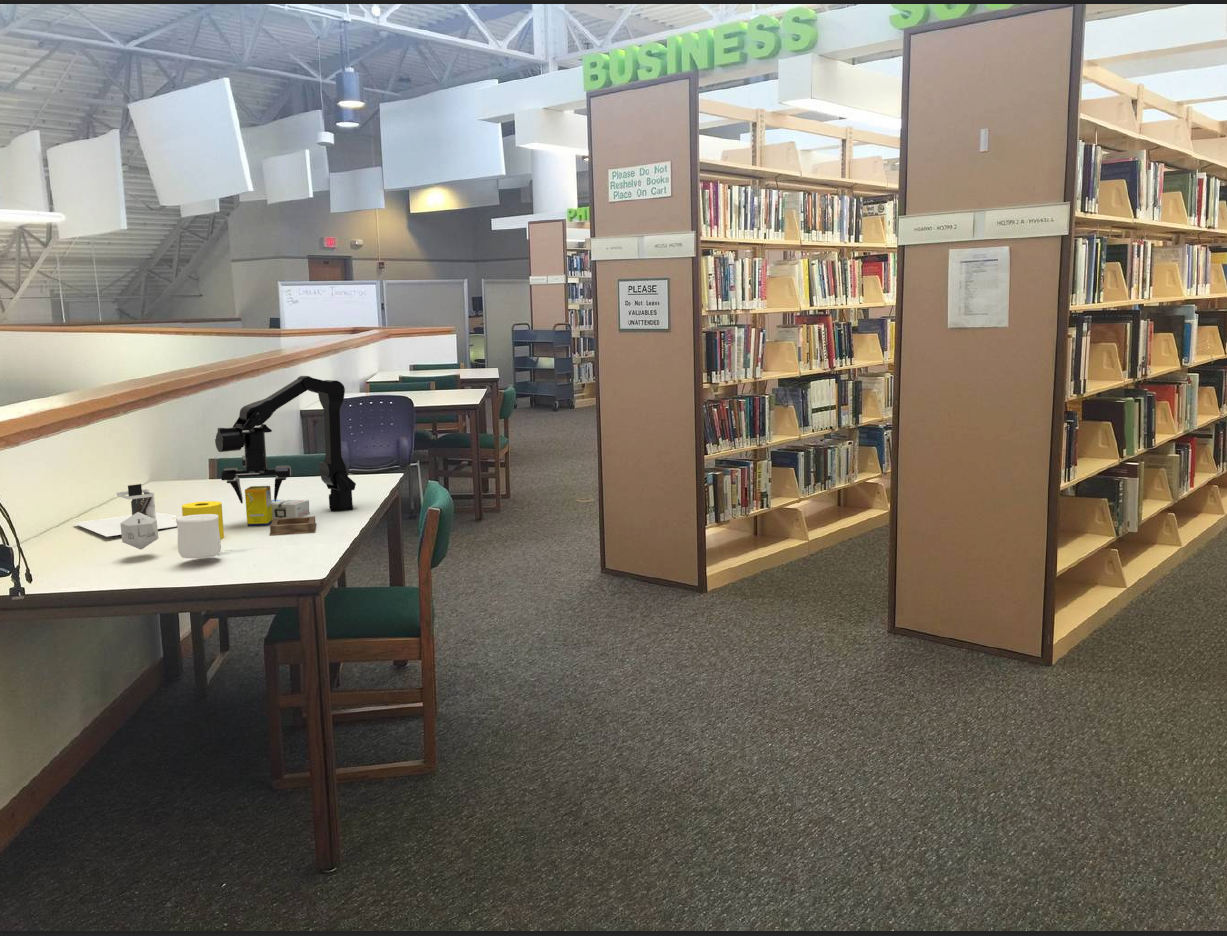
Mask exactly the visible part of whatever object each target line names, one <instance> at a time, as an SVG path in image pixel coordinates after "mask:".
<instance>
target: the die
mask: <svg viewBox="0 0 1227 936" xmlns="http://www.w3.org/2000/svg"><path fill="white" fill-rule="evenodd" d="M131 515H132V514H131ZM120 524H121V542H122V543H124V544H125V545H129V546H130V547H133V548H136V549H138V550H144V548H146V547H148V546H149V545H151V544H152V543H154V542H155V541H157V540H158V539H160V538H159V529H158V528H157V520H156V519H153V518H151V517H149V516H146V515H144V514H142V513H139V512H137V513H136V514H134V515H132V516H131V517H129V518H128V519H126V520H125V521H123V522H122V523H120Z"/></svg>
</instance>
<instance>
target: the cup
mask: <svg viewBox="0 0 1227 936" xmlns="http://www.w3.org/2000/svg"><path fill="white" fill-rule="evenodd" d="M218 517H219V516H218V515H216V514H199V515H189V516H183V515H182V516H177V518H176V519H175V520H176V523H177V526H176V528H177V549H178V554H179V556H180V557H181V558H183V559H205V558H206V559H207V558H210V557H216V556H218V555H219V554H220V553H221V551H222V550H221V549H222V543H221V542H222V540H221V539H220V534H219V526H218Z"/></svg>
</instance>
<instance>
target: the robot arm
mask: <svg viewBox="0 0 1227 936" xmlns="http://www.w3.org/2000/svg"><path fill="white" fill-rule="evenodd" d="M307 391H309V392H312V393H316V394H317V396H318V399H319V402H320V405H321V406H322V409H323V418H324V420H323V423H324V447H325V449H324V450H325V452H324V453H325V455H324V460H323V462H322V461H320V462H318V468H319V473H318V476H320V479H321V481H322V482H323V483H324V484H325V485H326V487H327V490H330V493H329V494H328V507H329V509H330V511H331V512H340V511H343V512H344V511H353V510H354V505H353V491H354V490H355V489H356V485H357V484H356V482H355V481H354V480H352V478H350V477H349V475H348V470H347V466H346V463H345V461H344V459H343V455H342V434H341V428H342V426H341V407H342V405H343V404H344V400H345V393H346V389H345V386H344V384H343V383H342V382H341V381H339V380H332V379H331V380H329V379H325V380H322V379H319V378H314V377H312V376H310V375H299V376H298V377H297V378H296V379H295V380H293V381H291V382H290V383H288V384H287V385H285V386H284V387H282V388H281V389H279V390H277V391H275V392H274V393H272V394H271V395H269V396H267V397H265V398H263V399H260V400H257V401H254V402H250V403H249V404H246V405H244V406H243V407H241V408H240V410H239V414H238V415H239V417H237V419H236V421H235V423H234V424H233V425H232V427H218V428H217V432H216V435H215V439H214V443H215V444H214V445H215V448H216V450H217V452H218V453H225V452H226V453H227V452H236V451H241V450H242V448H244V455H242V456H241V458H242V459H241V463H242V464H241V465H242V467H243V468H245V469H241V470H238V467H228V468H227V467H226V468H224V469H223V470H222V471H221V472H220V478H221V481H226V484H230V485H231V487H232V488H233V490H234V492H235V493H236V496H237V497H238V500H239V502H240V503H241V504H243V502H244V500H243V493H242V488H241V481H240V478H242V477H243V478H244V477H260V476H261V477H262V476H275V479H274V492H273V493H274V494H273V500H274V501H275V502H276V500H278V499H277V498H278V495H279V491H280V487H281V485H282V481H286V480H287V478H290V477H292V467H291V466H290V465H288V464H287V465H276V467H275V468H269V463H268V462H269V461H268V458H267V452H266V436H265V435H266V434H267V433H272V432H273V430H272V429H271V428H269V427H268V425H267V424H265V422H267V421H268V420H269V419H270V418H271V417H272V415H273V414H274V413H275V412H276V411H277V410H278V409H280V408H281V407H282V406H285V405H286V404H288V403H289V402H291V401H292V400H294V399H296V398H297V397H299V396H300V395H302V394H304V393H305V392H307ZM265 433H266V434H265Z"/></svg>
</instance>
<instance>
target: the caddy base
mask: <svg viewBox="0 0 1227 936" xmlns="http://www.w3.org/2000/svg"><path fill="white" fill-rule="evenodd" d="M317 525H318V524H317V523H316V516H303V517H295V518H279V519H273V521H272V523H271V524H269V534H268V535H269V536H280V535H281V536H282V535H297V534H313V533H316V530H317V529H316V528H317Z"/></svg>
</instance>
